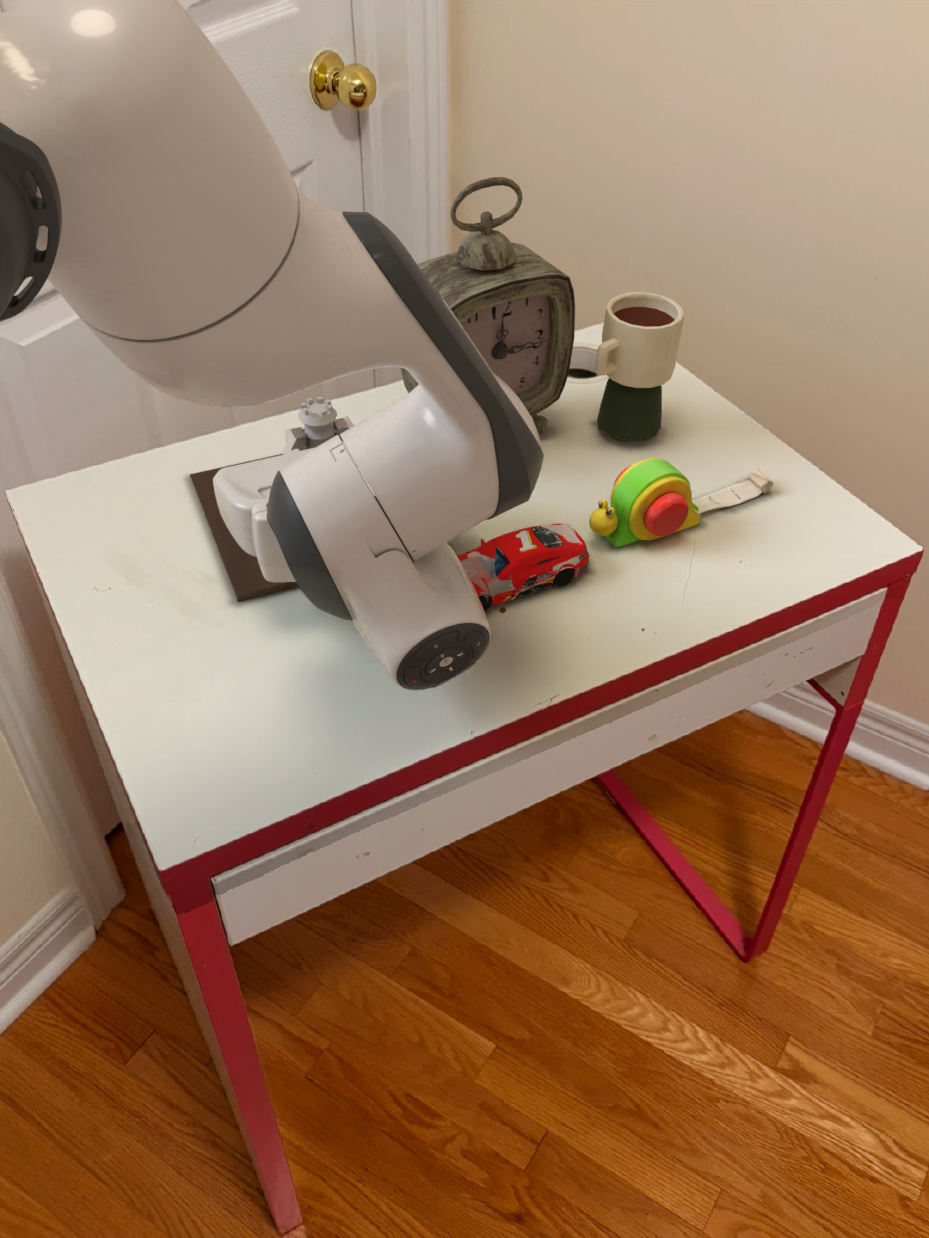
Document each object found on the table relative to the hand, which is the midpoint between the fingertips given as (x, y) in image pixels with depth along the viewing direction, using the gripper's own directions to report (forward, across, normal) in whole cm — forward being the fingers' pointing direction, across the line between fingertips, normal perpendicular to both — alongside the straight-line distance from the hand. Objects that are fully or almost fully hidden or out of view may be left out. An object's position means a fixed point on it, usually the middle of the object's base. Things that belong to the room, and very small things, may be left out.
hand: (316, 430), depth 90 cm
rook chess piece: (-1, 0, +5) cm, 5 cm away
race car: (-16, -12, +8) cm, 21 cm away
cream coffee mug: (0, -32, +8) cm, 33 cm away
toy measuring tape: (-14, -29, +8) cm, 33 cm away
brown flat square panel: (-1, +1, +8) cm, 8 cm away
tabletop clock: (+5, -18, +8) cm, 20 cm away
